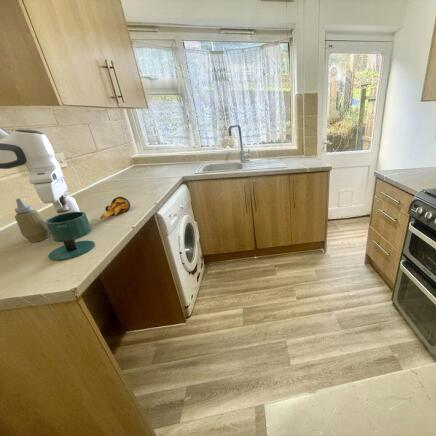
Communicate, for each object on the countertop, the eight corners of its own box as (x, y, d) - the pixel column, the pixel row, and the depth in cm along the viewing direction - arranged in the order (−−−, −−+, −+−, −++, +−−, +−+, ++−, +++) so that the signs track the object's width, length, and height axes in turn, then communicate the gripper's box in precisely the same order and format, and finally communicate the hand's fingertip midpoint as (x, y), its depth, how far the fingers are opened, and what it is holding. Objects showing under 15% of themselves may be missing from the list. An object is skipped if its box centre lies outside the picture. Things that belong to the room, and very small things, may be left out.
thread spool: (55, 213, 98) (49, 201, 96) (58, 210, 102) (53, 198, 99) (69, 211, 100) (64, 199, 98) (71, 208, 104) (66, 196, 101)
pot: (48, 248, 95) (38, 228, 92) (60, 230, 110) (52, 213, 106) (88, 240, 101) (80, 221, 97) (94, 224, 115) (88, 207, 112)
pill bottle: (86, 221, 119) (73, 191, 112) (66, 227, 112) (51, 197, 106) (80, 218, 123) (67, 189, 116) (60, 224, 116) (45, 194, 110)
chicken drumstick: (136, 199, 132) (119, 199, 115) (131, 218, 133) (113, 222, 115) (118, 194, 131) (98, 194, 113) (113, 214, 131) (92, 217, 113)
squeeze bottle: (57, 235, 105) (36, 196, 97) (34, 245, 98) (10, 203, 90) (45, 233, 107) (24, 194, 100) (22, 242, 100) (-2, 201, 93)
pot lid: (44, 266, 84) (36, 252, 82) (55, 248, 95) (49, 235, 92) (92, 255, 90) (87, 241, 88) (98, 240, 101) (93, 227, 98)
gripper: (45, 170, 101) (58, 201, 107) (26, 180, 85) (43, 216, 91) (64, 168, 104) (76, 198, 110) (50, 177, 88) (65, 213, 93)
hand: (61, 207), depth 100 cm, fingers closed on thread spool, 3 cm apart
